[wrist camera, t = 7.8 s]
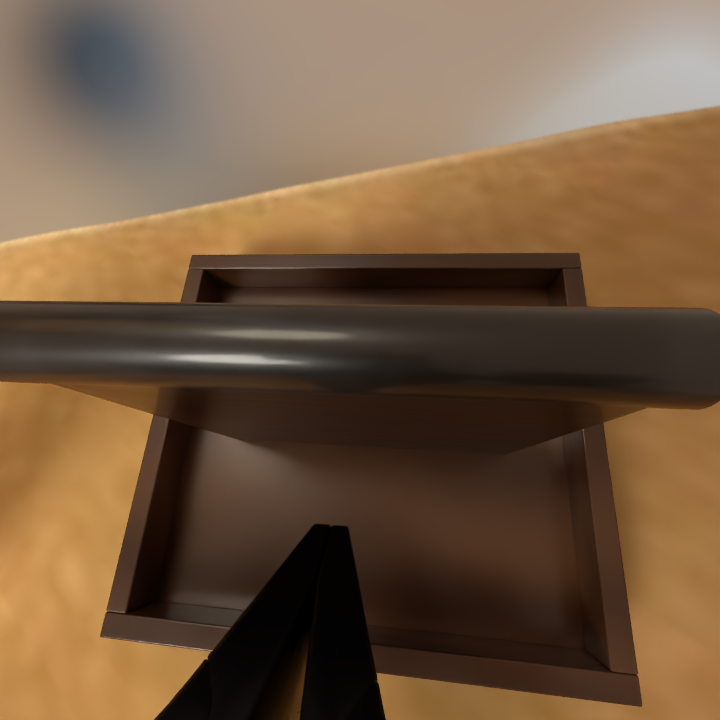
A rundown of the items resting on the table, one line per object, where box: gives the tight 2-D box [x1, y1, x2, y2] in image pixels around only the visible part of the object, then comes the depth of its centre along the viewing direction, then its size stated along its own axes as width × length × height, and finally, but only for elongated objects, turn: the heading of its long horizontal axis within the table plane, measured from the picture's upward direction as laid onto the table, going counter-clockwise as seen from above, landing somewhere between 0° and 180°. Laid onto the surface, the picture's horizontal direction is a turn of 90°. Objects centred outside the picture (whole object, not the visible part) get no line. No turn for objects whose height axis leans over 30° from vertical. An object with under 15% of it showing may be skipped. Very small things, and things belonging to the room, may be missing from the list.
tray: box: [0, 253, 720, 707], centre depth 12 cm, size 16×18×12 cm
